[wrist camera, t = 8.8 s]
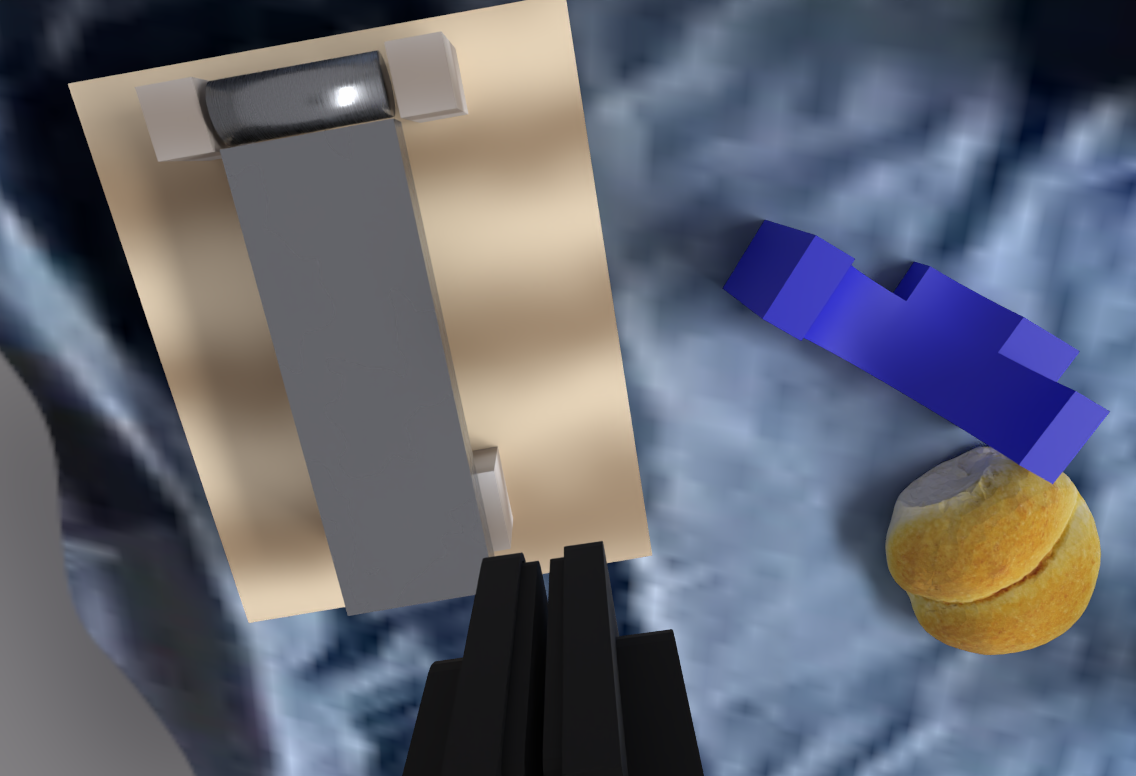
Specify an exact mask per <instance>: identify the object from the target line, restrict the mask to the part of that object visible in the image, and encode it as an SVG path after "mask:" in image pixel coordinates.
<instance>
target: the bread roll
mask: <svg viewBox="0 0 1136 776" xmlns="http://www.w3.org/2000/svg"><path fill="white" fill-rule="evenodd" d="M885 549H886V557H887V563H888V568H889V571H890V573H891V575H892V577H893V578H894V580H895V582H896V583H897V584H898V585H899V586H900V587H902V588H903V589H904V590H906V592H907V594H908V595H909V597H910V600H911V604H912V608H913V610H914V613H915V615H916V617H917V620H918V622H919V623H920V625H921V626H922V627H923V628H924V629H925V631H926V632H928V633H929V634H930V635H932V636H933V637H934V638H936V639H937V640H939V641H941V642H943V643H945V644H947V645H949V646H952V647H955V648H958V649H962V650H965V651H969V652H973V653H978V654H984V655H998V654H1008V653H1015V652H1020V651H1025V650H1029V649H1032V648H1035V647H1038V646H1040V645H1043V644H1046V643H1048V642H1049V641H1051V640H1053V639H1055V638H1056V637H1058V636H1060V635H1062V634H1063V633H1065V632H1066V631H1067V630H1068V629H1069V628H1070V627H1071V626H1072V625H1073V624H1074V623H1075V622H1076V621H1077V620H1078V619H1079V618H1080V617H1081V615H1082V614H1083V612H1084V611H1085V609H1086V607H1087V605H1088V603H1089V600H1090V598H1091V596H1092V593H1093V591H1094V588H1095V584H1096V580H1097V577H1098V572H1099V567H1100V557H1101V551H1100V540H1099V537H1098V533H1097V529H1096V525H1095V522H1094V518H1093V516H1092V514H1091V512H1090V510H1089V508H1088V506H1087V504H1086V502H1085V500H1084V499H1083V498H1082V497H1081V495H1080V494H1079V492H1078V490H1077V488H1076V487H1075V485H1074V484H1073V483H1072V481H1071V480H1070V478H1069V477H1068V476H1067V475H1066V474H1064V473H1063V472H1062V473H1061V475H1060V476H1059V477H1058V478H1057V480H1056V481H1055V482H1054V483H1053V484H1052V483H1050V482H1048V481H1046V480H1044V479H1043V478H1041V477H1039V476H1037V475H1036V474H1034V473H1032V472H1030V471H1029V470H1027V469H1025V468H1023V467H1022V466H1020V465H1018V464H1017V463H1015V462H1014V461H1012V460H1011V459H1009V458H1007V457H1006V456H1004V455H1003V454H1001V453H1000V452H998V451H997V450H995V449H993V448H992V447H977V448H974V449H972V450H970V451H968V452H966V453H964V454H962V455H960V456H958V457H956V458H954V459H951V460H948V461H945V462H943V463H941V464H939V465H937V466H935V467H934V468H933V469H931V470H929V471H928V472H926V473H925V474H924V475H922V476H921V477H919V478H918V479H916V480H915V481H913V482H912V483H911V484H910V485H909V486H908V487H907V488H906V489H904V490H903V491H902V493H901V494H900V495H899V497H898V499H897V501H896V504H895V507H894V511H893V515H892V519H891V522H890V525H889V528H888V532H887V536H886V544H885Z"/></svg>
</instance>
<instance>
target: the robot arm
mask: <svg viewBox="0 0 1136 776" xmlns="http://www.w3.org/2000/svg"><path fill="white" fill-rule="evenodd" d="M402 776H704V774H703V769H702V764H701V760H700V755H699V750H698V746H697V741H696V736H695V731H694V727H693V722H692V717H691V712H690V708H689V703H688V698H687V693H686V689H685V684H684V679H683V675H682V670H681V665H680V660H679V656H678V651H677V646H676V641H675V637H674V633H673V630H672V629H670V630H663V631H656V632H648V633H641V634H634V635H626V636H619V634H618V628H617V622H616V616H615V610H614V604H613V598H612V591H611V585H610V579H609V573H608V567H607V561H606V555H605V549H604V544H603V541H599V542H592V543H584V544H577V545H570V546H565V547H564V557H561V558H553V559H550V571H549V597H548V600H547V595H546V590H545V585H544V580H543V575H542V570H541V566H540V562H539V561H532V562H526V560H525V557H524V554H523V553H522V552H521V553H514V554H507V555H500V556H493V557H486V558H483V560H482V563H481V568H480V573H479V578H478V584H477V589H476V594H475V599H474V604H473V609H472V614H471V619H470V625H469V630H468V635H467V640H466V645H465V650H464V655H463V658H457V659H450V660H442V661H435V662H434V663H433V664H432V665H431V667H430V670H429V672H428V676H427V680H426V684H425V688H424V692H423V696H422V700H421V704H420V708H419V712H418V716H417V720H416V724H415V728H414V732H413V736H412V740H411V744H410V747H409V751H408V755H407V759H406V763H405V767H404V771H403V775H402Z"/></svg>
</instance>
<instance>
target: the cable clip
mask: <svg viewBox="0 0 1136 776" xmlns="http://www.w3.org/2000/svg"><path fill="white" fill-rule="evenodd" d="M854 260H855V259H854V258H853V257H851V256H849V255H848V254H846V253H844V252H843V251H841V250H839V249H838V248H836V247H834V246H833V245H831V244H829V243H828V242H826V241H824V240H823V239H821V238H819V237H818V236H816V235H813V234H810V233H807V232H803V231H800V230H797V229H794V228H790V227H787V226H784V225H780V224H777V223H774V222H771V221H767V220H764V222H763V224H762V225H761V227H760V228H759V230H758V232H757V233H756V235H755V237H754V238H753V240H752V241H751V243H750V245H749V246H748V248H747V250H746V251H745V253H744V254H743V256H742V258H741V259H740V261H739V263H738V264H737V266H736V268H735V269H734V271H733V272H732V274H731V276H730V277H729V279H728V281H727V282H726V284H725V285H724V287H723V289H724V290H725V291H727V292H728V293H729V294H731V295H732V296H733V297H735V298H736V299H737V300H738V301H740V302H741V303H742V304H744V305H745V306H746V307H748V308H749V309H750V310H752V311H753V312H754V313H755V314H757V315H758V316H759V317H761V318H762V319H764V320H765V321H767V322H769V323H771V324H772V325H774V326H776V327H778V328H779V329H781V330H783V331H785V332H786V333H788V334H790V335H792V336H793V337H795V338H797V339H799V340H800V341H802V339H803V338H805V339H807V340H809V341H811V342H813V343H815V344H817V345H819V346H821V347H823V348H824V349H826V350H828V351H830V352H832V353H834V354H835V355H837V356H839V357H841V358H843V359H844V360H846V361H848V362H850V363H852V364H853V365H855V366H857V367H859V368H860V369H862V370H864V371H866V372H867V373H869V374H871V375H872V376H874V377H876V378H878V379H879V380H881V381H883V382H885V383H886V384H888V385H890V386H891V387H893V388H895V389H897V390H898V391H900V392H902V393H903V394H905V395H907V396H908V397H910V398H912V399H913V400H915V401H917V402H918V403H920V404H922V405H923V406H925V407H927V408H928V409H930V410H932V411H933V412H935V413H937V414H938V415H940V416H942V417H943V418H945V419H947V420H948V421H950V422H952V423H953V424H955V425H956V426H958V427H960V428H961V429H963V430H965V431H966V432H968V433H969V434H971V435H973V436H974V437H976V438H977V439H979V440H981V441H982V442H984V443H985V444H987V445H989V446H990V447H992V448H993V449H995V450H997V451H998V452H1000V453H1001V454H1003V455H1004V456H1006V457H1007V458H1009V459H1011V460H1012V461H1014V462H1015V463H1017V464H1018V465H1020V466H1022V467H1023V468H1025V469H1027V470H1029V471H1030V472H1032V473H1034V474H1036V475H1037V476H1039V477H1041V478H1043V479H1044V480H1046V481H1048V482H1050V483H1052V484H1053V483H1054V482H1055V481H1056V480H1057V478H1058V477H1059V476H1060V475H1061V473H1062V472H1063V471H1064V469H1065V468H1066V467H1067V466H1068V464H1069V463H1070V462H1071V461H1072V459H1073V458H1074V457H1075V455H1076V454H1077V453H1078V452H1079V450H1080V449H1081V448H1082V447H1083V445H1084V444H1085V443H1086V441H1087V440H1088V439H1089V438H1090V436H1091V435H1092V434H1093V433H1094V431H1095V430H1096V429H1097V427H1098V426H1099V425H1100V424H1101V422H1102V421H1103V420H1104V419H1105V417H1106V416H1107V415H1108V414H1109V412H1110V411H1108V410H1106V409H1105V408H1103V407H1101V406H1100V405H1098V404H1096V403H1095V402H1093V401H1091V400H1090V399H1088V398H1086V397H1085V396H1083V395H1081V394H1080V393H1078V392H1076V391H1074V390H1072V389H1070V388H1068V387H1066V386H1064V385H1062V384H1059V383H1057V381H1058V380H1059V378H1060V377H1061V376H1062V374H1063V373H1064V372H1065V370H1066V369H1067V368H1068V366H1069V365H1070V364H1071V362H1072V361H1073V360H1074V358H1075V357H1076V356H1077V354H1078V353H1079V352H1080V351H1078V350H1077V349H1075V348H1073V347H1072V346H1070V345H1068V344H1067V343H1065V342H1064V341H1062V340H1060V339H1059V338H1057V337H1055V336H1054V335H1052V334H1050V333H1049V332H1047V331H1046V330H1044V329H1042V328H1041V327H1039V326H1037V325H1036V324H1034V323H1032V322H1031V321H1029V320H1028V319H1026V318H1024V317H1022V316H1020V315H1018V314H1016V313H1014V312H1012V311H1010V310H1008V309H1006V308H1004V307H1002V306H1000V305H998V304H997V303H995V302H993V301H991V300H989V299H987V298H985V297H983V296H981V295H979V294H978V293H976V292H974V291H972V290H970V289H968V288H967V287H965V286H963V285H961V284H959V283H958V282H956V281H954V280H952V279H951V278H949V277H947V276H946V275H944V274H942V273H940V272H939V271H937V270H935V269H934V268H932V267H930V266H927V265H924V264H920V263H917V262H914V263H913V264H912V266H911V267H910V269H909V270H908V272H907V273H906V275H905V276H904V278H903V279H902V281H901V282H900V284H899V285H898V287H897V288H896V289H895V291H894V292H893V293H892V292H890V291H889V290H887V289H885V288H884V287H882V286H881V285H879V284H877V283H876V282H874V281H873V280H871V279H870V278H868V277H867V276H865V275H864V274H862V273H861V272H859V271H858V270H857V269H855V268H854V267H853V266H851V264H852V263H853V261H854Z"/></svg>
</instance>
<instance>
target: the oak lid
mask: <svg viewBox="0 0 1136 776" xmlns="http://www.w3.org/2000/svg"><path fill="white" fill-rule="evenodd" d="M376 50H378V51H380V53H381V55H382V57H383V59H384V61H385V64H386V67H387V70H388V73H389V77H390V81H391V85H392V90H393V95H394V101H395V117H392V118H386V119H381V120H375V121H370V122H364V123H359V124H353V125H347V126H342V127H336V128H331V129H325V130H320V131H314V132H308V133H303V134H297V135H292V136H286V137H281V138H275V139H270V140H264V141H258V142H253V143H247V144H242V145H236V146H228V145H226V144H225V143H224V142H223V141H222V140H221V138H220V137H219V135H218V134H217V132H216V130H215V128H214V126H213V123H212V121H211V118H210V115H209V112H208V108H207V104H206V96H205V89H206V85H207V83H208V82H209V81H211V80H217V79H222V78H228V77H233V76H239V75H244V74H250V73H255V72H261V71H266V70H272V69H277V68H283V67H288V66H294V65H299V64H305V63H310V62H316V61H321V60H327V59H332V58H338V57H343V56H349V55H354V54H360V53H365V52H371V51H376ZM68 86H69V89H70V92H71V95H72V98H73V101H74V104H75V107H76V109H77V112H78V115H79V118H80V121H81V124H82V127H83V130H84V133H85V136H86V139H87V142H88V145H89V148H90V151H91V154H92V157H93V160H94V163H95V166H96V169H97V172H98V175H99V178H100V181H101V184H102V187H103V190H104V193H105V196H106V199H107V202H108V205H109V208H110V211H111V214H112V217H113V220H114V223H115V226H116V229H117V232H118V235H119V238H120V241H121V244H122V247H123V250H124V252H125V255H126V258H127V261H128V264H129V267H130V270H131V273H132V276H133V279H134V282H135V285H136V288H137V291H138V294H139V297H140V300H141V303H142V306H143V309H144V312H145V315H146V318H147V321H148V324H149V327H150V330H151V333H152V336H153V339H154V342H155V345H156V348H157V351H158V354H159V357H160V360H161V363H162V366H163V369H164V372H165V375H166V378H167V381H168V384H169V387H170V390H171V393H172V395H173V398H174V401H175V404H176V407H177V410H178V413H179V416H180V419H181V422H182V425H183V428H184V431H185V434H186V437H187V440H188V443H189V446H190V449H191V452H192V455H193V458H194V461H195V464H196V467H197V470H198V473H199V476H200V479H201V482H202V485H203V488H204V491H205V494H206V497H207V500H208V503H209V506H210V509H211V512H212V515H213V518H214V521H215V524H216V527H217V530H218V533H219V536H220V538H221V541H222V544H223V547H224V550H225V553H226V556H227V559H228V562H229V565H230V568H231V571H232V574H233V577H234V580H235V583H236V586H237V589H238V592H239V595H240V598H241V601H242V604H243V607H244V610H245V613H246V616H247V619H248V622H249V623H251V622H257V621H263V620H269V619H275V618H281V617H287V616H293V615H299V614H305V613H311V612H317V611H323V610H329V609H335V608H341V607H345V604H344V600H343V596H342V593H341V589H340V585H339V582H338V578H337V574H336V571H335V567H334V564H333V560H332V556H331V553H330V549H329V545H328V542H327V538H326V535H325V531H324V527H323V524H322V520H321V516H320V513H319V509H318V506H317V502H316V498H315V495H314V491H313V487H312V484H311V480H310V476H309V473H308V469H307V466H306V462H305V458H304V455H303V451H302V447H301V444H300V440H299V437H298V433H297V429H296V426H295V422H294V418H293V415H292V411H291V408H290V404H289V400H288V397H287V393H286V389H285V386H284V382H283V378H282V375H281V371H280V368H279V364H278V360H277V357H276V353H275V349H274V346H273V342H272V339H271V335H270V331H269V328H268V324H267V320H266V317H265V313H264V310H263V306H262V302H261V299H260V295H259V291H258V288H257V284H256V280H255V277H254V273H253V270H252V266H251V262H250V259H249V255H248V251H247V248H246V244H245V241H244V237H243V233H242V230H241V226H240V222H239V219H238V215H237V212H236V208H235V204H234V201H233V197H232V193H231V190H230V186H229V182H228V179H227V175H226V172H225V168H224V164H223V161H222V157H221V153H220V149H226V148H232V147H237V146H243V145H248V144H254V143H259V142H265V141H271V140H276V139H282V138H287V137H293V136H298V135H304V134H310V133H315V132H321V131H326V130H332V129H337V128H343V127H348V126H354V125H360V124H365V123H371V122H376V121H382V120H387V119H393V118H394V119H396V120H398V121H401V123H402V128H403V132H404V137H405V142H406V146H407V151H408V156H409V160H410V165H411V170H412V174H413V179H414V184H415V188H416V193H417V197H418V202H419V207H420V211H421V216H422V221H423V225H424V230H425V235H426V239H427V244H428V249H429V253H430V258H431V262H432V267H433V272H434V276H435V281H436V286H437V290H438V295H439V300H440V304H441V309H442V314H443V318H444V323H445V327H446V332H447V337H448V341H449V346H450V351H451V355H452V360H453V365H454V369H455V374H456V379H457V383H458V388H459V392H460V397H461V402H462V406H463V411H464V416H465V420H466V425H467V430H468V434H469V439H470V444H471V448H472V453H473V458H474V462H475V467H476V471H477V476H478V481H479V485H480V490H481V495H482V499H483V504H484V509H485V513H486V518H487V523H488V527H489V532H490V536H491V541H492V546H493V550H494V555H495V556H500V555H507V554H514V553H521V552H522V553H523V554H524V557H525V560H526V562H532V561H539V562H540V566H541V570H542V574H544V573H549V571H550V559H553V558H561V557H564V547H565V546H570V545H577V544H584V543H592V542H599V541H603V544H604V549H605V555H606V561H607V563H610V562H616V561H622V560H628V559H634V558H640V557H646V556H652V551H651V545H650V538H649V532H648V525H647V519H646V512H645V506H644V500H643V493H642V487H641V480H640V474H639V467H638V461H637V454H636V448H635V442H634V435H633V429H632V422H631V416H630V409H629V403H628V396H627V390H626V383H625V377H624V371H623V364H622V358H621V351H620V345H619V338H618V332H617V325H616V319H615V313H614V306H613V300H612V293H611V287H610V280H609V274H608V267H607V261H606V254H605V248H604V242H603V235H602V229H601V222H600V216H599V209H598V203H597V196H596V190H595V184H594V177H593V171H592V164H591V158H590V151H589V145H588V138H587V132H586V125H585V119H584V113H583V106H582V100H581V93H580V87H579V80H578V74H577V67H576V61H575V55H574V48H573V42H572V35H571V29H570V22H569V16H568V9H567V3H566V0H525V1H520V2H514V3H509V4H503V5H498V6H492V7H487V8H481V9H476V10H470V11H465V12H459V13H454V14H449V15H443V16H438V17H432V18H427V19H421V20H416V21H410V22H405V23H399V24H394V25H388V26H383V27H377V28H372V29H366V30H361V31H355V32H350V33H344V34H339V35H333V36H328V37H322V38H317V39H311V40H306V41H300V42H295V43H289V44H284V45H278V46H273V47H267V48H262V49H256V50H251V51H245V52H240V53H234V54H229V55H223V56H218V57H212V58H207V59H201V60H196V61H190V62H185V63H180V64H174V65H169V66H163V67H158V68H152V69H147V70H141V71H136V72H130V73H125V74H119V75H114V76H108V77H103V78H97V79H92V80H86V81H81V82H75V83H70V84H68Z"/></svg>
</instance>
